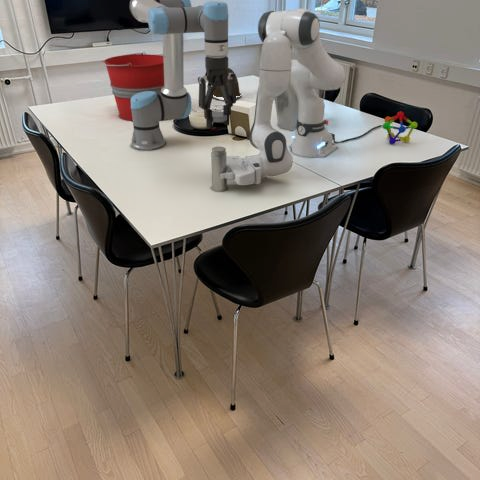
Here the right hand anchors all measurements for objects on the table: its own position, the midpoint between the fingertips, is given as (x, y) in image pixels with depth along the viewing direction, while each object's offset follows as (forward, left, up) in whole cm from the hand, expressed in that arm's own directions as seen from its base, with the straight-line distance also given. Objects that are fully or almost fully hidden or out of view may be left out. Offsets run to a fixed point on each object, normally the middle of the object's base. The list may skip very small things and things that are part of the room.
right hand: (216, 172), depth 164 cm
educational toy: (-94, +23, -7) cm, 97 cm away
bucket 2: (-82, -28, -7) cm, 87 cm away
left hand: (-1, 0, +17) cm, 17 cm away
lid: (-1, 0, +21) cm, 21 cm away
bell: (-96, -94, -7) cm, 135 cm away
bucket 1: (-36, -101, -7) cm, 107 cm away
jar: (-1, 0, -7) cm, 7 cm away
